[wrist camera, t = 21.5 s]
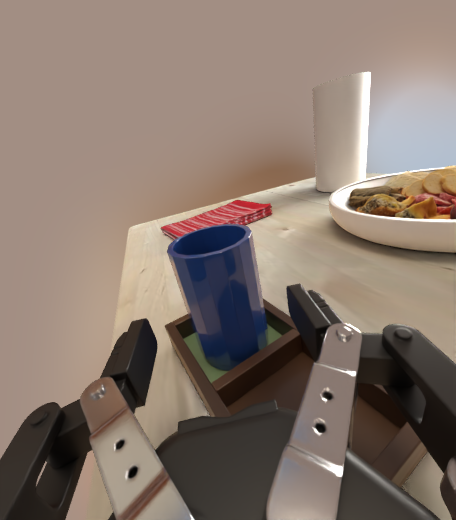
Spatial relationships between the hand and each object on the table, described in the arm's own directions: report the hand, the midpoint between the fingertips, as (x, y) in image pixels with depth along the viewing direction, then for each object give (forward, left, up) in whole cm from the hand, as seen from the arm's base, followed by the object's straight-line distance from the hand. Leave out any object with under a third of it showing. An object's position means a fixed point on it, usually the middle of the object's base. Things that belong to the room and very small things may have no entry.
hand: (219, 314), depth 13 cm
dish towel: (+20, +41, -8) cm, 47 cm away
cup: (+2, +4, -7) cm, 9 cm away
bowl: (+40, +5, -8) cm, 41 cm away
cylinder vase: (+57, +34, -8) cm, 67 cm away
